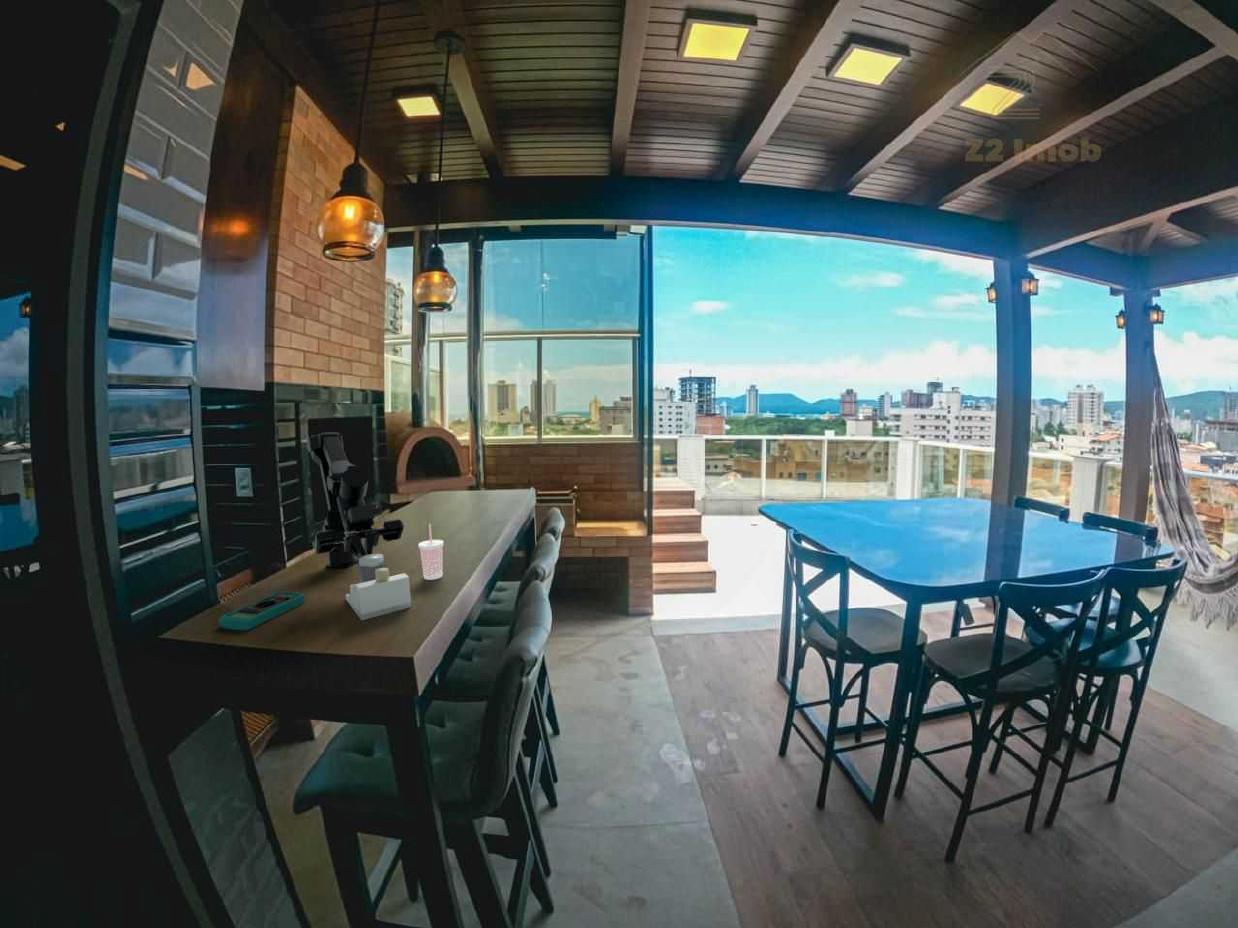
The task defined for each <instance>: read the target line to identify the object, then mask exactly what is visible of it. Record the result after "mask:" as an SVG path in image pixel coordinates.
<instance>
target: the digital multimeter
mask: <svg viewBox="0 0 1238 928" xmlns="http://www.w3.org/2000/svg"><path fill="white" fill-rule="evenodd" d="M304 604H306V596H305V594H302V593H299V592H296V591H291V590H290V591H289V590H287V591H285V590H281V591H277V592H275V593H273V594H270V595H268V596H266V597H264V598H261V599H259V600H257V601H255V602H252V603H249V604H248V605H245V606H243V607H241V608H238V609H235V610H233V611H230V612H228V613H226V614H223V615H222V616H220V617H219V618H218V624H219V625H218V626H219V627H220V628H222V629H227V630H234V631H250V630H251V629H253V628H255V627H258V626H259V625H262V624H263V623H265V622H268V621H269V620H272V619H274V618H276V617H278V616H280V615H282V614H284V613H286V612H288V611H291V610H292V609H294V608H297V607H299V606H302V605H304ZM267 620H268V621H267Z"/></svg>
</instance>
